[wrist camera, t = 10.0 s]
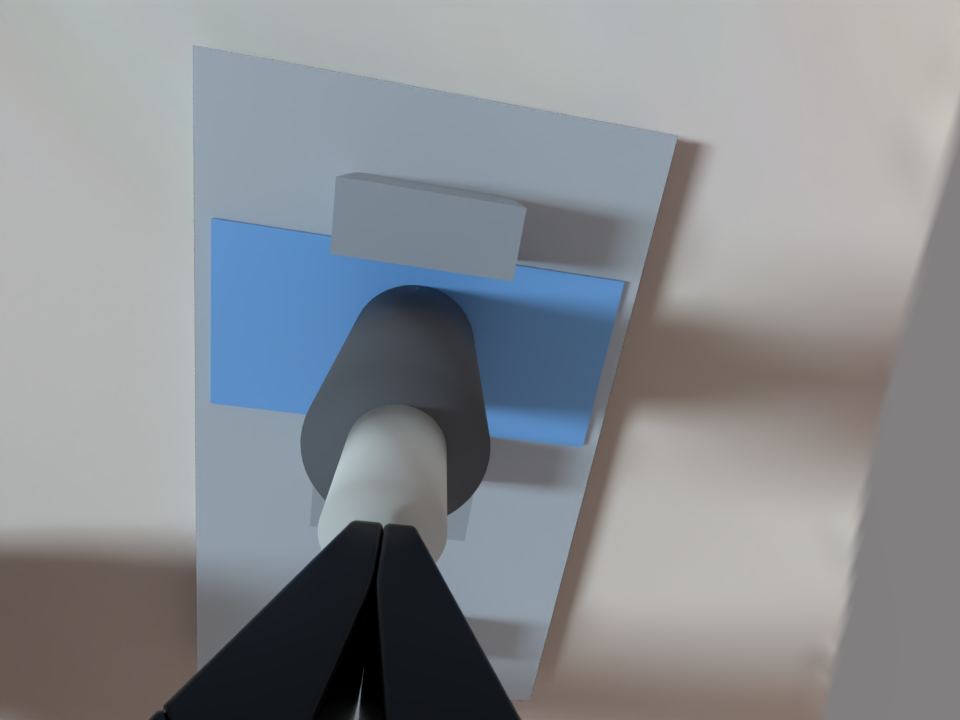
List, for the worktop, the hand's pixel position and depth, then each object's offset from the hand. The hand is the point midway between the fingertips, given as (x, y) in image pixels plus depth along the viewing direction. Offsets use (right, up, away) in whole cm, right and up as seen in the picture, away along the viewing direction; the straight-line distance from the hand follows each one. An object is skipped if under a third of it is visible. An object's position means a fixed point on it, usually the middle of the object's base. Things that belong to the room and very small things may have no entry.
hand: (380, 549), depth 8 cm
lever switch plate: (-1, 0, +10) cm, 11 cm away
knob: (-1, +3, +8) cm, 9 cm away
